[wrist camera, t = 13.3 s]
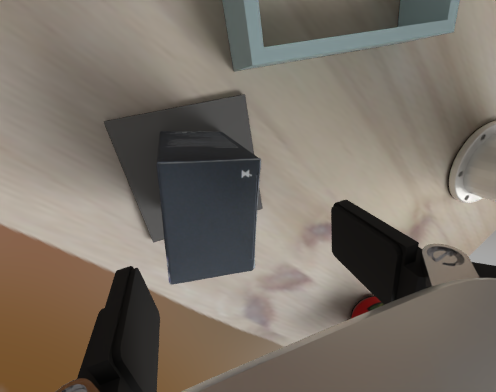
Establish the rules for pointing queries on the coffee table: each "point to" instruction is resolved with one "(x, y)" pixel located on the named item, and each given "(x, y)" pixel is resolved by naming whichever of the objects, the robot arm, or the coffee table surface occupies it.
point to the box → (207, 204)
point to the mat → (147, 138)
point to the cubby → (256, 55)
